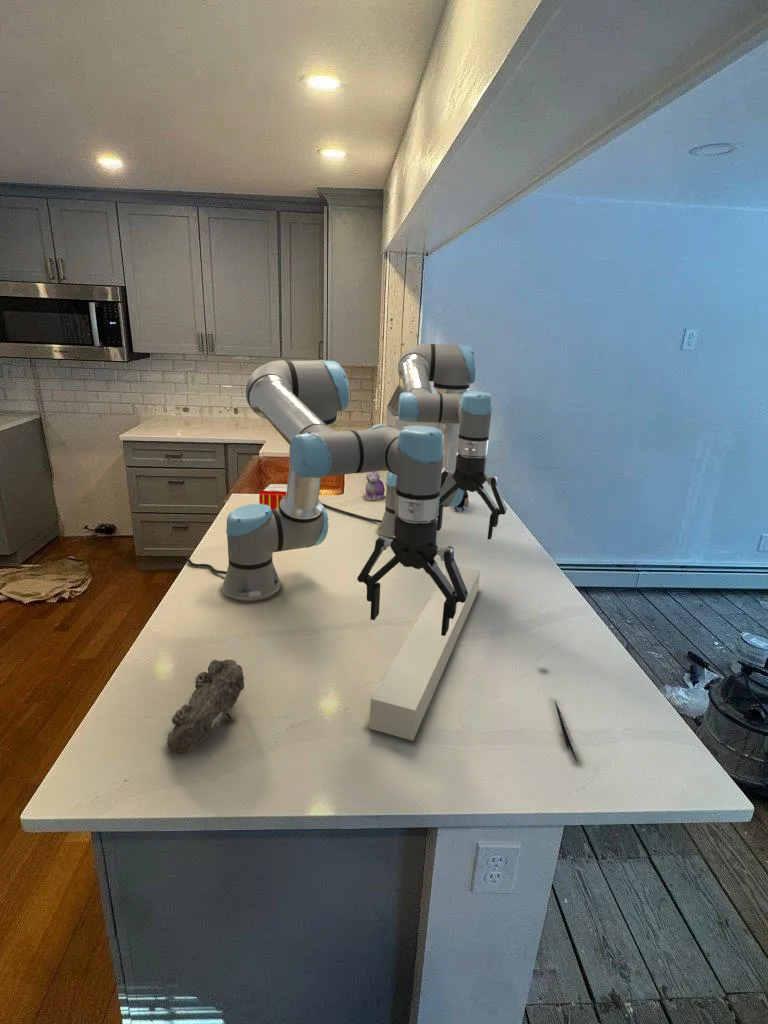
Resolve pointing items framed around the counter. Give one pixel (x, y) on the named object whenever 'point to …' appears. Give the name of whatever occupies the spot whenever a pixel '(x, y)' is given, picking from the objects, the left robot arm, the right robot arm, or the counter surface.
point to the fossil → (206, 705)
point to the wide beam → (420, 664)
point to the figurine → (374, 486)
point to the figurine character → (463, 501)
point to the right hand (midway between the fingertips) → (463, 533)
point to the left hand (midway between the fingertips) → (409, 624)
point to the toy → (273, 495)
